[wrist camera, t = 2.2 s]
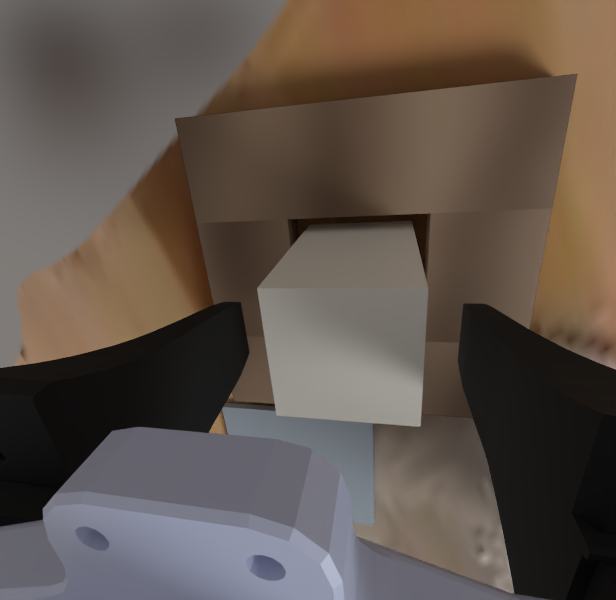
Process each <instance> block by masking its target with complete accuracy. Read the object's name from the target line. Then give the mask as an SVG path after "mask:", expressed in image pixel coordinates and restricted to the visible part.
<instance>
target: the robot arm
mask: <svg viewBox="0 0 616 600" xmlns="http://www.w3.org/2000/svg"><path fill="white" fill-rule="evenodd" d="M249 353H250V351H249V345H248V340H247V334H246V328H245V323H244V317H243V311H242V306H241V302H222V303H218V304H215V305H213V306H210V307H208V308H206V309H203V310H201V311H199V312H197V313H195V314H192V315H190V316H188V317H186V318H184V319H181V320H179V321H177V322H175V323H172V324H170V325H168V326H165V327H163V328H161V329H158V330H156V331H154V332H151V333H149V334H146V335H143V336H141V337H138V338H135V339H132V340H129V341H126V342H123V343H120V344H117V345H114V346H110V347H107V348H103V349H99V350H95V351H92V352H88V353H84V354H80V355H76V356H71V357H66V358H62V359H56V360H51V361H46V362H40V363H34V364H27V365H20V366H12V367H5V368H0V600H616V370H615V369H612V368H610V367H607V366H605V365H602V364H599V363H597V362H595V361H592V360H590V359H588V358H585V357H583V356H581V355H578V354H576V353H574V352H572V351H569V350H567V349H565V348H563V347H561V346H559V345H557V344H555V343H553V342H551V341H550V340H548V339H546V338H544V337H542V336H540V335H538V334H537V333H535V332H533V331H531V330H530V329H528V328H526V327H524V326H523V325H521V324H519V323H518V322H516V321H514V320H513V319H511V318H510V317H508V316H506V315H505V314H503V313H502V312H500V311H498V310H497V309H495V308H493V307H491V306H489V305H487V304H477V303H463V311H462V321H461V331H460V341H459V351H458V366H459V371H460V377H461V382H462V387H463V390H464V393H465V396H466V399H467V402H468V405H469V408H470V411H471V414H472V416H473V419H474V422H475V425H476V428H477V431H478V434H479V436H480V439H481V442H482V445H483V448H484V451H485V454H486V458H487V461H488V465H489V469H490V473H491V478H492V482H493V487H494V491H495V496H496V500H497V505H498V510H499V515H500V520H501V524H502V529H503V534H504V539H505V544H506V550H507V555H508V560H509V566H510V571H511V576H512V582H513V587H514V593H515V594H512V593H509V592H506V591H503V590H500V589H498V588H495V587H492V586H490V585H487V584H484V583H482V582H479V581H476V580H473V579H471V578H468V577H465V576H463V575H460V574H457V573H455V572H452V571H449V570H446V569H444V568H441V567H438V566H436V565H433V564H430V563H428V562H425V561H422V560H420V559H417V558H414V557H411V556H409V555H406V554H403V553H401V552H398V551H395V550H393V549H390V548H387V547H384V546H382V545H379V544H376V543H374V542H371V541H368V540H366V539H363V538H360V537H357V536H356V535H355V531H354V527H353V523H352V504H351V496H350V493H349V491H348V489H347V486H346V484H345V482H344V479H343V477H342V475H341V472H340V471H339V470H338V469H336V468H335V467H334V466H332V465H331V464H330V463H329V462H327V461H326V460H325V459H324V458H322V457H321V456H320V455H318V454H317V453H316V452H315V451H313V450H312V449H311V448H307V447H304V446H300V445H297V444H294V443H290V442H287V441H283V440H280V439H270V438H259V437H248V436H237V435H226V434H214V433H209V431H210V429H211V427H212V425H213V423H214V422H215V420H216V418H217V416H218V415H219V413H220V411H221V410H222V408H223V406H224V404H225V403H226V401H227V399H228V398H229V396H230V394H231V392H232V391H233V389H234V387H235V385H236V384H237V382H238V380H239V378H240V376H241V374H242V372H243V369H244V367H245V364H246V361H247V359H248V356H249Z"/></svg>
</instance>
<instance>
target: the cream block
mask: <svg viewBox="0 0 616 600" xmlns="http://www.w3.org/2000/svg"><path fill="white" fill-rule="evenodd" d="M257 291H258V298H259V304H260V311H261V318H262V324H263V331H264V337H265V344H266V350H267V357H268V363H269V370H270V376H271V383H272V389H273V396H274V402H275V409H276V416H288V417H300V418H313V419H326V420H339V421H351V422H364V423H377V424H390V425H402V426H415V427H421V410H422V393H423V375H424V357H425V340H426V322H427V304H428V285H427V281H426V277H425V273H424V268H423V264H422V260H421V256H420V252H419V248H418V244H417V240H416V236H415V232H414V228H413V224H412V221H389V222H363V223H337V224H311V225H309V226H308V227H307V228H306V230H305V231H304V232H303V233H302V235H301V236H300V237H299V238H298V239H297V241H296V242H295V243H294V244H293V245H292V247H291V248H290V249H289V250H288V251H287V253H286V254H285V255H284V256H283V258H282V259H281V260H280V261H279V262H278V264H277V265H276V266H275V267H274V268H273V270H272V271H271V272H270V273H269V274H268V276H267V277H266V278H265V279H264V281H263V282H262V283H261V284H260V285H259V287H258V288H257Z"/></svg>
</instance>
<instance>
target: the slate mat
mask: <svg viewBox="0 0 616 600" xmlns="http://www.w3.org/2000/svg"><path fill="white" fill-rule="evenodd" d="M222 411H223V415H224V419H225V424H226V428H227V433H228V435H237V436H248V437H259V438H270V439H280V440H283V441H287V442H290V443H294V444H297V445H300V446H304V447H307V448H311V449H312V450H313V451H315V452H316V453H317V454H318V455H320V456H321V457H322V458H324V459H325V460H326V461H327V462H329V463H330V464H331V465H332V466H334V467H335V468H336V469H338V470H339V471H340V472H341V475H342V477H343V479H344V482H345V484H346V486H347V489H348V491H349V493H350V496H351V504H352V522H353V523H360V524H367V525H374V445H373V423H364V422H351V421H339V420H326V419H313V418H300V417H288V416H276V409H275V406H265V405H252V404H238V403H225V404H224V406H223V408H222Z"/></svg>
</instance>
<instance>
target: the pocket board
mask: <svg viewBox="0 0 616 600" xmlns="http://www.w3.org/2000/svg"><path fill="white" fill-rule="evenodd" d="M576 79H577V74H571V75H562V76H553V77H544V78H535V79H526V80H517V81H508V82H499V83H490V84H481V85H472V86H463V87H454V88H445V89H436V90H427V91H418V92H409V93H400V94H391V95H382V96H373V97H364V98H355V99H346V100H337V101H328V102H319V103H310V104H301V105H292V106H283V107H274V108H265V109H256V110H247V111H239V112H230V113H221V114H212V115H203V116H194V117H185V118H176V119H175V122H176V127H177V132H178V137H179V141H180V146H181V151H182V156H183V161H184V165H185V170H186V175H187V180H188V184H189V189H190V194H191V199H192V204H193V208H194V213H195V218H196V223H197V227H198V232H199V237H200V242H201V247H202V251H203V256H204V261H205V266H206V271H207V275H208V280H209V285H210V290H211V294H212V299H213V304H214V305H215V304H218V303H222V302H241V306H242V311H243V317H244V323H245V328H246V334H247V340H248V345H249V351H250V353H249V356H248V359H247V361H246V364H245V367H244V369H243V372H242V374H241V376H240V378H239V380H238V382H237V384H236V385H235V387H234V389H233V391H232V395H233V400H234V401H243V402H257V403H271V404H275V402H274V396H273V389H272V383H271V376H270V370H269V363H268V357H267V350H266V344H265V337H264V331H263V324H262V318H261V311H260V304H259V298H258V291H257V288H258V287H259V285H260V284H261V283H262V282H263V281H264V279H265V278H266V277H267V276H268V274H269V273H270V272H271V271H272V270H273V268H274V267H275V266H276V265H277V264H278V262H279V261H280V260H281V259H282V258H283V256H284V255H285V254H286V253H287V251H288V250H289V249H290V248H291V247H292V245H293V244H294V243H295V242H296V241H297V239H298V233H297V222H296V219H309V218H333V217H357V216H381V215H404V214H427V219H426V239H425V259H424V273H425V277H426V281H427V285H428V304H427V322H426V340H425V357H424V375H423V393H422V410H421V414H425V415H439V416H453V417H467V418H473V416H472V414H471V411H470V408H469V405H468V402H467V399H466V396H465V393H464V390H463V387H462V382H461V377H460V371H459V366H458V351H459V341H460V331H461V321H462V311H463V303H477V304H487V305H489V306H491V307H493V308H495V309H497V310H498V311H500V312H502V313H503V314H505V315H506V316H508V317H510V318H511V319H513V320H514V321H516V322H518V323H519V324H521V325H523V326H524V327H526V328H528V329H529V328H530V323H531V318H532V313H533V307H534V302H535V297H536V291H537V286H538V281H539V275H540V270H541V265H542V259H543V254H544V249H545V244H546V238H547V233H548V228H549V222H550V217H551V212H552V206H553V201H554V196H555V190H556V185H557V180H558V175H559V169H560V164H561V159H562V153H563V148H564V143H565V137H566V132H567V127H568V121H569V116H570V111H571V106H572V100H573V95H574V90H575V84H576Z"/></svg>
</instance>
